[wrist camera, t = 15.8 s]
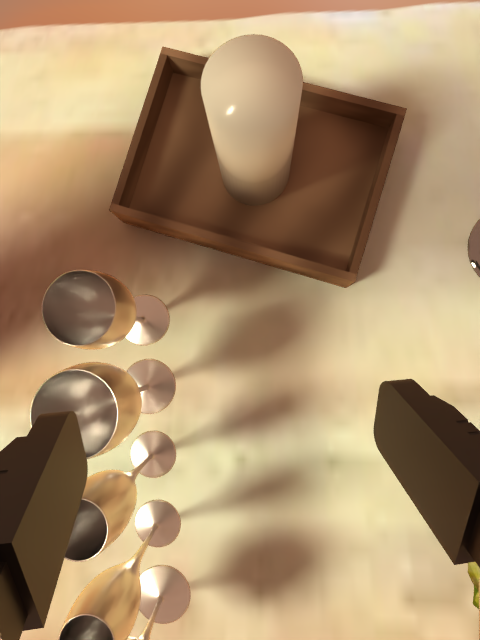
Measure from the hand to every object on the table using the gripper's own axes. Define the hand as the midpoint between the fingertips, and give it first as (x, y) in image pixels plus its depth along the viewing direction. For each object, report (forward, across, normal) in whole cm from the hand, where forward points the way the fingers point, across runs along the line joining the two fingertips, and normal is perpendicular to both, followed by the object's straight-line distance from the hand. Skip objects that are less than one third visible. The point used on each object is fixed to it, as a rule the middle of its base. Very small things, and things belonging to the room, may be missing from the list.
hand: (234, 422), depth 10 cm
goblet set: (+18, +5, +17) cm, 25 cm away
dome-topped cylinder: (+26, -5, -5) cm, 27 cm away
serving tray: (+27, -5, -5) cm, 28 cm away
